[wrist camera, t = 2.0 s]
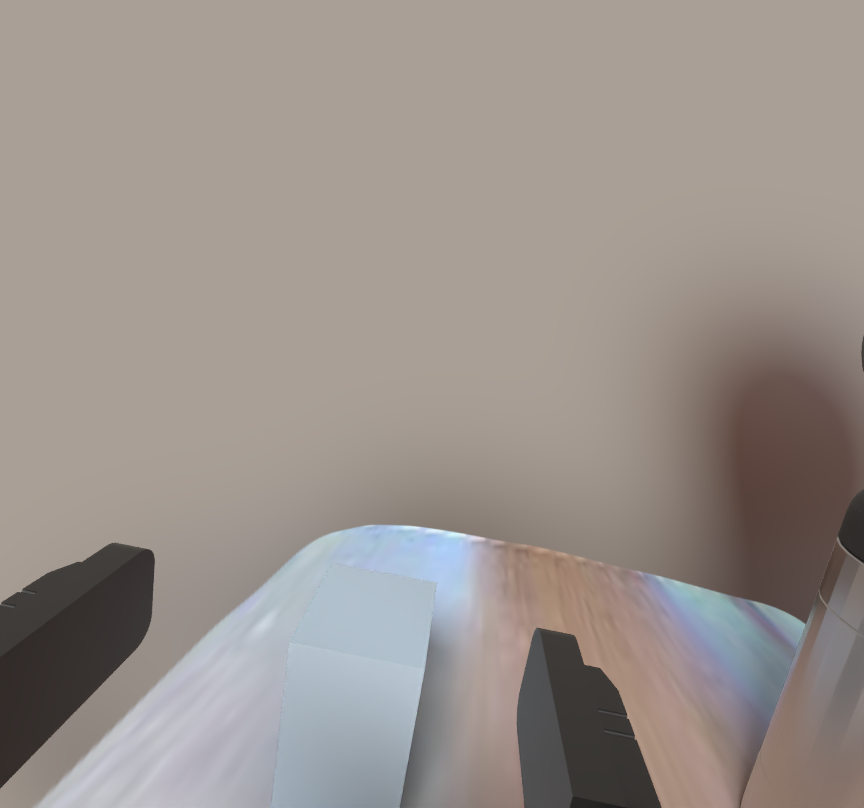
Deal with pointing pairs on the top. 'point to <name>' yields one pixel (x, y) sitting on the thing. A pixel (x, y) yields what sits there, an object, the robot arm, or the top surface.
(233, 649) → the top surface
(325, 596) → the tall pale blue box
